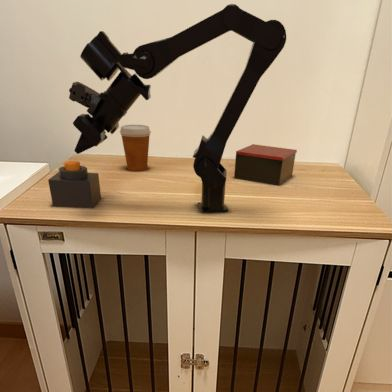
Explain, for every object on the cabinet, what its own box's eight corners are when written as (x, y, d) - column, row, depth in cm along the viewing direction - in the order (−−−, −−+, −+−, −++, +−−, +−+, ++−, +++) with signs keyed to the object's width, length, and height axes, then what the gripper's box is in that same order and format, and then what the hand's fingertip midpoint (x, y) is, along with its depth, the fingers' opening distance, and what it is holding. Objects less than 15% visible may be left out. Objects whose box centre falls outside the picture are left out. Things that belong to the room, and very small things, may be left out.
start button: (82, 168, 100) (81, 161, 99) (78, 172, 97) (77, 164, 96) (68, 168, 100) (66, 160, 99) (63, 171, 97) (62, 163, 96)
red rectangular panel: (252, 146, 132) (252, 144, 131) (296, 152, 126) (297, 149, 126) (235, 154, 122) (236, 151, 121) (282, 160, 117) (283, 157, 116)
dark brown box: (249, 169, 135) (251, 147, 131) (292, 176, 130) (295, 153, 126) (234, 178, 126) (235, 154, 122) (279, 185, 121) (282, 160, 117)
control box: (101, 198, 106) (97, 165, 102) (93, 208, 100) (88, 173, 95) (63, 196, 107) (57, 163, 102) (52, 206, 100) (46, 171, 96)
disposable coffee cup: (157, 170, 131) (156, 128, 124) (130, 173, 127) (127, 130, 120) (143, 163, 138) (141, 123, 130) (117, 167, 133) (114, 125, 126)
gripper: (100, 65, 94) (61, 118, 101) (75, 68, 79) (32, 131, 86) (136, 105, 98) (96, 154, 105) (120, 116, 83) (75, 172, 90)
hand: (76, 152), depth 96 cm, fingers closed
